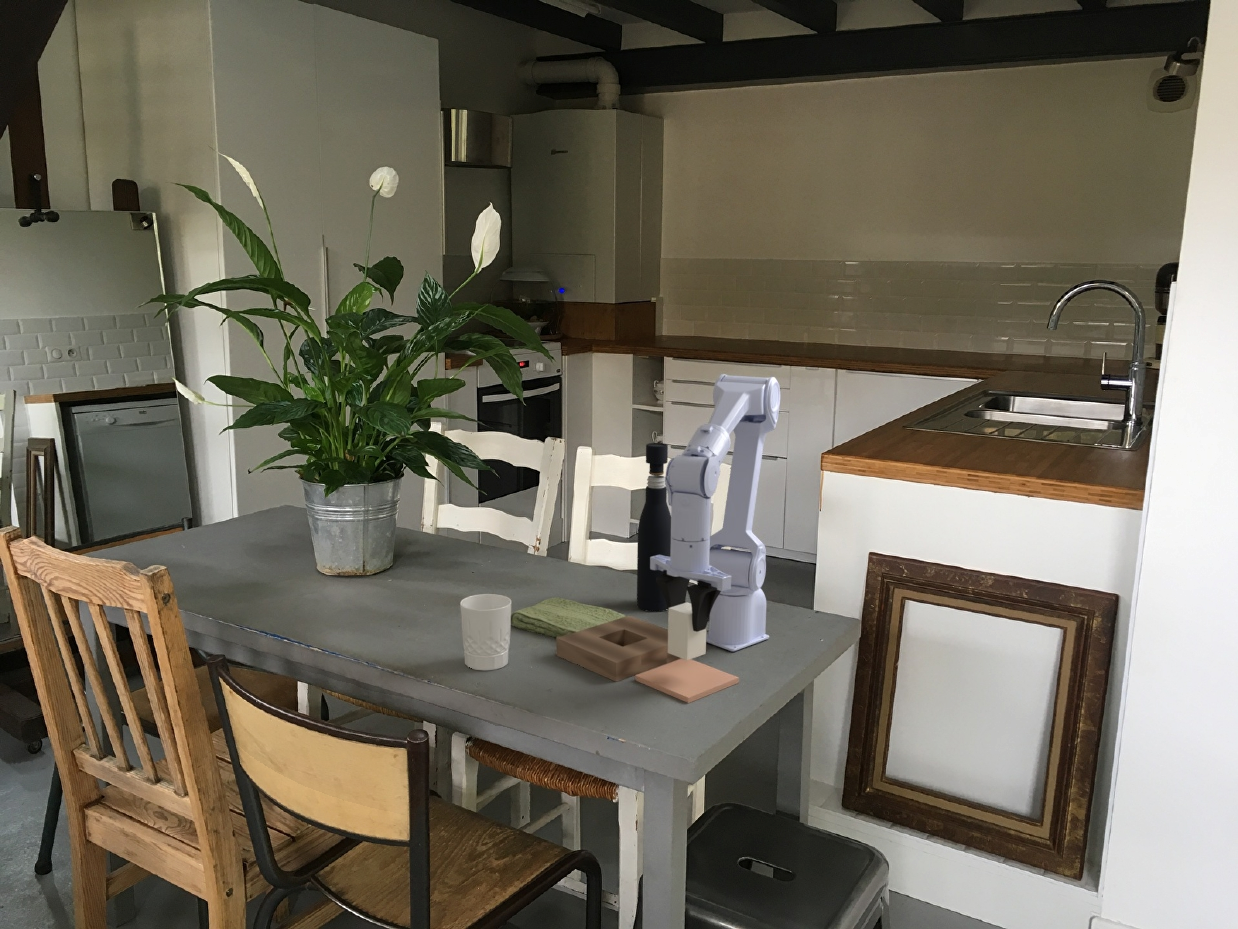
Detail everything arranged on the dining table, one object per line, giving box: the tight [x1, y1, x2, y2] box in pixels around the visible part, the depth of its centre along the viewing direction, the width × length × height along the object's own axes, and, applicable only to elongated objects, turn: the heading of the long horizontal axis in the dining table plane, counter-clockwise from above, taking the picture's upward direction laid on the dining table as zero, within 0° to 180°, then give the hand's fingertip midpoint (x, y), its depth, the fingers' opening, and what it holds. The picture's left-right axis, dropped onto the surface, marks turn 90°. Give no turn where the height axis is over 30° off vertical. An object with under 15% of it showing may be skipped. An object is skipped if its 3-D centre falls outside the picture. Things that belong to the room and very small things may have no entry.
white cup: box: [459, 593, 512, 671], centre depth 161 cm, size 8×8×10 cm
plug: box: [667, 602, 707, 660], centre depth 154 cm, size 4×4×7 cm
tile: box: [634, 658, 740, 704], centre depth 156 cm, size 11×11×1 cm
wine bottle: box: [636, 442, 671, 612], centre depth 187 cm, size 6×6×30 cm
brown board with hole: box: [555, 615, 682, 682], centre depth 165 cm, size 16×14×3 cm
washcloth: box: [511, 596, 626, 638], centre depth 179 cm, size 13×18×3 cm
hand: (688, 625), depth 154 cm, fingers closed on plug, 4 cm apart
